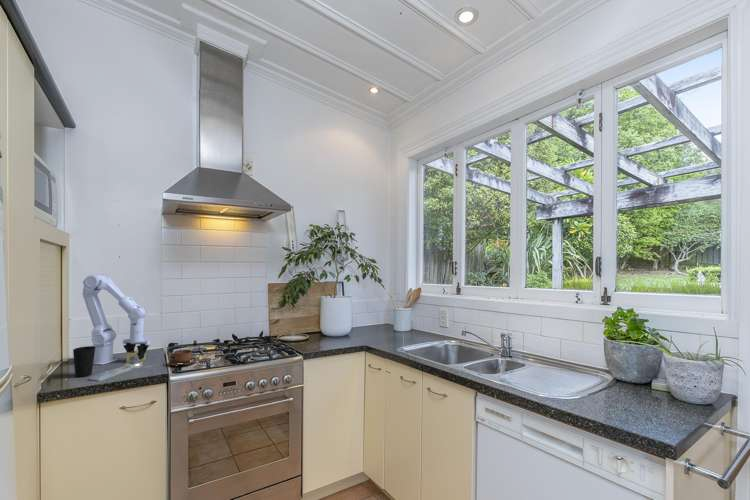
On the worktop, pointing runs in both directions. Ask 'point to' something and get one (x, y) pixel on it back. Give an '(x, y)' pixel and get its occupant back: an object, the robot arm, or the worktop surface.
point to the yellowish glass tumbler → (134, 353)
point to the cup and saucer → (182, 358)
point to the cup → (83, 361)
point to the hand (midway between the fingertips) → (136, 358)
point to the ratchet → (119, 369)
